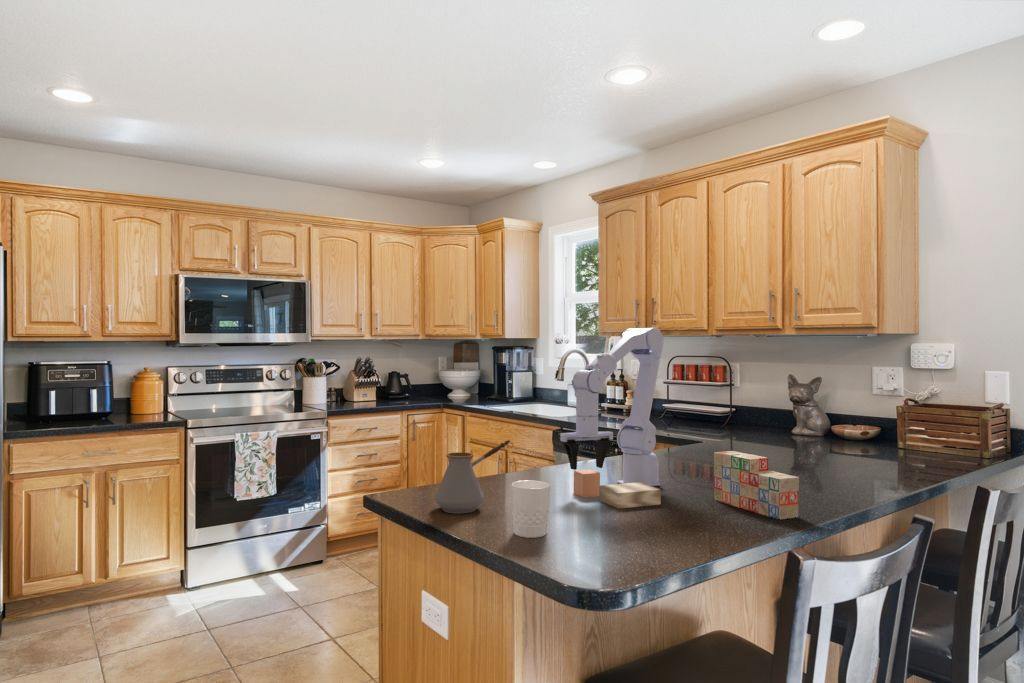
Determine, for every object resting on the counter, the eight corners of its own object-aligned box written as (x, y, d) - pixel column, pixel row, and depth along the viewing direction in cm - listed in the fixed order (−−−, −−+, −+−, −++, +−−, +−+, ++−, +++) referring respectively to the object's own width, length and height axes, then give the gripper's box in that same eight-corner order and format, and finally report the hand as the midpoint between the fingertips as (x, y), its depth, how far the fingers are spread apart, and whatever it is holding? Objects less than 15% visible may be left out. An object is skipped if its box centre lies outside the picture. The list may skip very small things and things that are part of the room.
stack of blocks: (799, 518, 145) (799, 463, 145) (778, 520, 143) (778, 465, 143) (732, 497, 165) (732, 449, 165) (713, 499, 162) (713, 451, 163)
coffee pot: (452, 518, 142) (453, 450, 142) (425, 508, 150) (425, 444, 151) (525, 504, 155) (526, 442, 155) (496, 495, 164) (497, 437, 164)
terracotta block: (590, 492, 170) (590, 469, 170) (599, 496, 165) (600, 472, 165) (573, 493, 168) (573, 470, 168) (582, 497, 163) (582, 474, 163)
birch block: (639, 497, 165) (639, 482, 165) (660, 505, 157) (660, 489, 157) (599, 501, 160) (599, 485, 160) (618, 510, 152) (618, 493, 152)
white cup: (520, 540, 126) (521, 489, 126) (504, 530, 133) (505, 482, 133) (556, 536, 129) (556, 486, 129) (539, 526, 136) (539, 479, 136)
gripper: (569, 418, 160) (568, 472, 160) (619, 416, 166) (618, 469, 165) (556, 415, 167) (556, 467, 167) (605, 414, 172) (604, 464, 172)
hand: (586, 468), depth 166 cm, fingers open, 7 cm apart
